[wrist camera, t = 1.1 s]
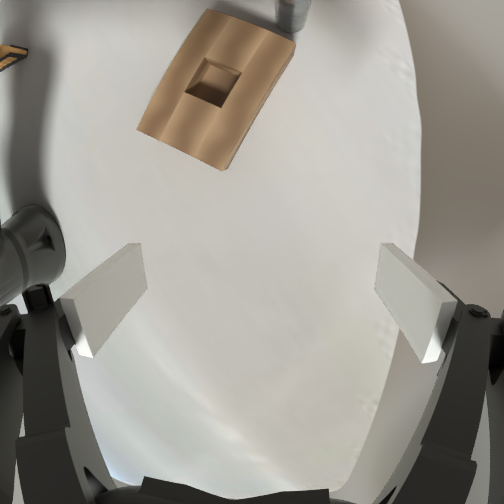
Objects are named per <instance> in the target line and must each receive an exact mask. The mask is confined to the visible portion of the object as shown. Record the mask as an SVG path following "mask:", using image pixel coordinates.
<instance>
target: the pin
mask: <svg viewBox="0 0 504 504" xmlns="http://www.w3.org/2000/svg"><path fill="white" fill-rule="evenodd" d="M310 3H311V0H276V16H275V22H276V25H277V27H278V28H279V29H281V30H282V31H285V32H288V33H295V32H298V31H300V30H301V29H302V28H303V27H304V25H305V21H306V18H307V14H308V10H309V7H310Z"/></svg>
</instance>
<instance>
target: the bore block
mask: <svg viewBox="0 0 504 504" xmlns="http://www.w3.org/2000/svg"><path fill="white" fill-rule="evenodd" d="M295 47H296V43H295V42H293V41H291V40H289V39H286V38H284V37H282V36H280V35H278V34H275V33H273V32H271V31H268V30H266V29H264V28H261V27H259V26H256V25H254V24H251V23H249V22H246V21H243V20H240V19H238V18H235V17H232V16H229V15H226V14H223V13H220V12H217V11H214V10H210V9H207V10H206V11H205V12H204V14H203V15H202V16H201V18H200V19H199V21H198V22H197V24H196V25H195V26H194V28H193V29H192V31H191V32H190V34H189V35H188V37H187V38H186V40H185V41H184V43H183V45H182V46H181V48H180V49H179V51H178V53H177V54H176V56H175V57H174V59H173V61H172V63H171V64H170V66H169V68H168V69H167V71H166V73H165V75H164V76H163V78H162V80H161V82H160V84H159V85H158V87H157V89H156V91H155V93H154V95H153V97H152V99H151V101H150V102H149V104H148V106H147V108H146V110H145V113H144V115H143V117H142V119H141V121H140V123H139V125H138V127H137V129H136V130H138V131H140V132H142V133H144V134H147V135H149V136H151V137H153V138H155V139H157V140H159V141H162V142H164V143H166V144H168V145H170V146H172V147H174V148H176V149H178V150H180V151H182V152H184V153H186V154H188V155H190V156H192V157H194V158H196V159H198V160H200V161H202V162H204V163H206V164H208V165H210V166H212V167H214V168H216V169H218V170H220V171H223V170H226V169H228V167H229V165H230V163H231V161H232V160H233V158H234V156H235V154H236V152H237V150H238V149H239V147H240V145H241V143H242V141H243V140H244V138H245V136H246V134H247V132H248V131H249V129H250V127H251V125H252V124H253V122H254V120H255V118H256V117H257V115H258V113H259V112H260V110H261V108H262V106H263V105H264V103H265V101H266V100H267V98H268V96H269V95H270V93H271V91H272V90H273V88H274V86H275V85H276V83H277V81H278V80H279V78H280V76H281V75H282V73H283V72H284V70H285V68H286V67H287V65H288V64H289V62H290V60H291V59H292V57H293V55H294V51H295Z"/></svg>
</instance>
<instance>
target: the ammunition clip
mask: <svg viewBox="0 0 504 504" xmlns="http://www.w3.org/2000/svg"><path fill="white" fill-rule="evenodd" d="M27 53H28V49H27V48H23V47H18V46H13V45H10V46H6V45H0V72H1V71H3V70H4V69H6V68H8V67H10V66H11V65H13V64H15V63H17V62H18V61H20V60H22V59H24V58H26V57H27Z"/></svg>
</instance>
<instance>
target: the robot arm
mask: <svg viewBox="0 0 504 504" xmlns="http://www.w3.org/2000/svg"><path fill="white" fill-rule="evenodd" d="M64 265H65V246H64V241H63V238H62V235H61V232H60V230H59V227H58V225H57V224H56V222H55V220H54V219H53V217H52V216H51V215H50V214H49V213H48V212H47V211H46V210H45V209H43V208H42V207H39V206H36V205H30V206H26V207H24V208H21V209H19V210H17V211H16V212H15V213H14V214H13V215H12V217H11V218H10V219H8V220H7V221H6V222H5V223H4V224H3V225H2V226H1V221H0V504H12V501H13V491H14V477H15V465H16V459H17V466H18V473H19V479H20V485H21V490H22V495H23V500H24V504H355V503H351V502H348V501H344V500H339V499H331V498H329V489H319V490H306V491H284V492H278V493H273V494H268V495H263V496H258V497H252V498H246V499H239V500H229V499H226V498H222V497H219V496H216V495H213V494H210V493H207V492H204V491H201V490H199V489H196V488H193V487H191V486H188V485H185V484H179V483H173V482H168V481H163V480H159V479H154V478H150V477H146V476H144V479H143V482H142V485H141V486H127V487H121V488H117V486H116V485H115V483H114V482H113V480H112V478H111V476H110V474H109V471H108V469H107V466H106V464H105V462H104V459H103V456H102V454H101V451H100V449H99V446H98V443H97V440H96V438H95V435H94V432H93V429H92V426H91V423H90V419H89V416H88V413H87V410H86V406H85V403H84V399H83V395H82V391H81V387H80V383H79V379H78V375H77V370H76V366H75V361H74V356H73V353H72V351H71V348H72V346H73V345H74V344H75V345H76V347H77V350H78V352H79V355H83V356H87V357H92V358H93V357H94V356H95V355H96V353H97V352H98V351H99V349H100V348H101V347H102V345H103V344H104V343H105V341H106V340H107V339H108V338H109V336H110V335H111V334H112V332H113V331H114V330H115V328H116V327H117V326H118V325H119V323H120V322H121V321H122V319H123V318H124V317H125V316H126V314H127V313H128V312H129V311H130V309H131V308H132V307H133V306H134V304H135V303H136V302H137V301H138V299H139V298H140V297H141V296H142V294H143V293H144V292H145V291H146V290H147V288H148V287H147V282H146V276H145V270H144V264H143V257H142V250H141V243H132V244H127V245H126V246H125V247H123V248H122V249H121V250H119V251H118V252H117V253H115V254H114V255H113V256H111V257H110V258H109V259H107V260H106V261H105V262H103V263H102V264H101V265H99V266H98V267H97V268H96V269H94V270H93V271H92V272H90V273H89V274H88V275H87V276H85V277H84V278H83V279H82V280H80V281H79V282H78V283H77V284H75V285H74V286H73V287H72V288H70V289H69V290H68V291H67V292H66V293H64V294H63V295H62V296H61V297H59V299H57V300H56V301H55V302H54V301H53V298H52V295H51V291H50V288H49V284H51V283H52V282H54V281H55V280H57V279H58V278H59V277H60V275H61V274H62V272H63V269H64ZM374 290H375V291H376V293H377V294H378V296H379V297H380V299H381V300H382V302H383V303H384V305H385V306H386V308H387V309H388V311H389V312H390V314H391V315H392V317H393V318H394V320H395V321H396V323H397V324H398V326H399V327H400V329H401V331H402V332H403V334H404V335H405V337H406V338H407V340H408V341H409V343H410V345H411V347H412V348H413V350H414V351H415V353H416V355H417V356H418V358H419V360H420V361H421V363H427V362H432V361H437V359H438V356H439V354H440V351H441V349H443V351H444V352H445V354H446V356H445V358H444V360H443V363H442V365H441V367H440V370H439V372H438V374H437V376H438V378H437V380H436V383H435V386H434V389H433V391H432V394H431V396H430V399H429V401H428V404H427V406H426V409H425V411H424V413H423V416H422V418H421V420H420V422H419V425H418V427H417V429H416V431H415V433H414V435H413V437H412V439H411V442H410V443H409V445H408V447H407V449H406V451H405V453H404V455H403V457H402V459H401V460H400V462H399V464H398V466H397V468H396V469H395V471H394V473H393V474H392V476H391V478H390V479H389V481H388V483H387V484H386V486H385V487H384V489H383V490H382V492H381V493H380V495H379V496H378V497H377V499H376V500H375V501H374V502H373V504H465V502H466V499H467V497H468V494H469V491H470V488H471V485H472V482H473V479H474V476H475V473H476V468H477V463H476V461H472V460H471V455H472V451H473V448H474V444H475V440H476V436H477V432H478V428H479V423H480V418H481V413H482V408H483V403H484V396H485V390H486V397H487V406H488V415H489V429H490V485H489V496H488V504H504V310H503V313H502V316H501V318H491V317H490V313H489V312H488V311H487V310H486V309H484V308H483V307H481V306H478V305H474V304H467V305H465V304H464V303H463V302H462V301H461V300H460V299H459V298H458V297H457V296H456V295H454V293H453V292H452V291H451V290H449V289H448V288H447V287H446V286H445V285H444V284H442V283H440V282H438V281H437V280H435V279H434V278H433V277H431V276H430V275H429V274H428V273H427V272H426V271H425V270H424V269H423V268H421V267H420V266H419V265H418V264H417V263H416V262H415V261H413V260H412V259H411V258H410V257H409V256H408V255H406V254H405V253H404V252H403V251H402V250H400V249H399V248H398V247H397V246H396V245H394V244H393V243H381V245H380V253H379V260H378V268H377V274H376V281H375V287H374ZM21 293H22V296H23V299H24V302H25V305H26V308H27V310H28V314H20V313H19V310H18V308H17V306H16V305H15V304H9V305H7V303H9V302H10V301H11V300H13V299H14V298H15V297H17V296H18V295H19V294H21ZM23 412H24V426H25V436H24V437H19V434H20V428H21V422H22V417H23Z"/></svg>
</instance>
